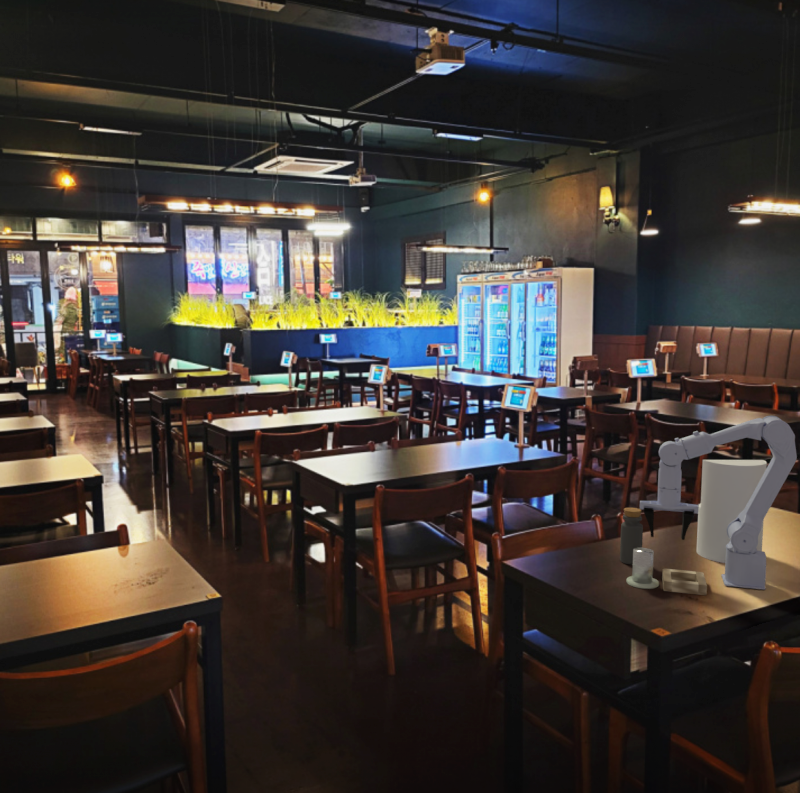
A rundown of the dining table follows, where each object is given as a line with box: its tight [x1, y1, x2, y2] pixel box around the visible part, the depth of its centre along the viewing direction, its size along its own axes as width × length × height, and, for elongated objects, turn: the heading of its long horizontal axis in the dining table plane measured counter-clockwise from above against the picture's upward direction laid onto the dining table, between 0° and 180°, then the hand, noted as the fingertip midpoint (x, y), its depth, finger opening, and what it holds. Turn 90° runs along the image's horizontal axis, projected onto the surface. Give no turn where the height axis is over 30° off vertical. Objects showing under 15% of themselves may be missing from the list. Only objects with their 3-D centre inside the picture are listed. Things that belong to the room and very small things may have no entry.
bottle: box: [619, 507, 644, 566], centre depth 205 cm, size 6×6×15 cm
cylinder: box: [696, 459, 768, 564], centre depth 210 cm, size 17×17×28 cm
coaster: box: [626, 575, 660, 590], centre depth 188 cm, size 8×8×1 cm
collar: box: [661, 568, 708, 596], centre depth 186 cm, size 10×10×2 cm
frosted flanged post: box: [631, 547, 655, 584], centre depth 188 cm, size 5×5×8 cm
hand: (667, 537), depth 193 cm, fingers open, 7 cm apart
